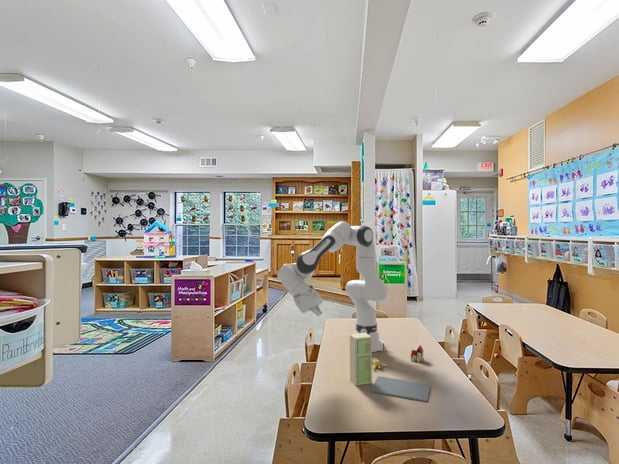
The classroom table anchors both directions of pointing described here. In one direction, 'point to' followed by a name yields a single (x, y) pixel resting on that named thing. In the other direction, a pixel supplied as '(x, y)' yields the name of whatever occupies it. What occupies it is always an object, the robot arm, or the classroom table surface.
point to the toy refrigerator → (360, 359)
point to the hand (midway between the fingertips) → (320, 314)
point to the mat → (401, 388)
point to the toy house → (417, 355)
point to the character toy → (377, 363)
